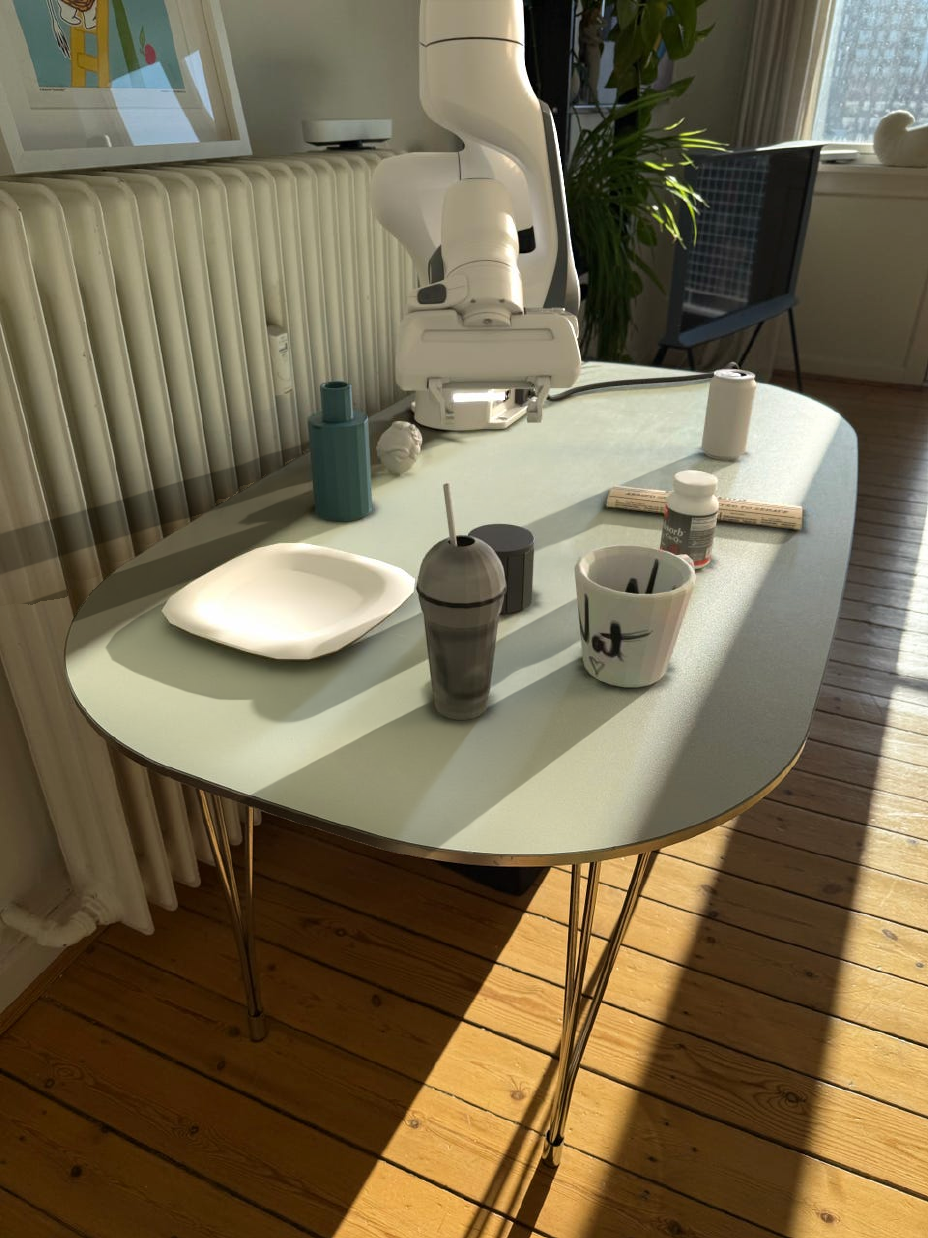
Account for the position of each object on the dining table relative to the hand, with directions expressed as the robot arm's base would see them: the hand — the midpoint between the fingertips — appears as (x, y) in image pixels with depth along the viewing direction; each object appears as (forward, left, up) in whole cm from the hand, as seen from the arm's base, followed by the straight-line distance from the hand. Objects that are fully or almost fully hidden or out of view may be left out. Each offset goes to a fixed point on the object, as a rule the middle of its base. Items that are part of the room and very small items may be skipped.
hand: (491, 421), depth 96 cm
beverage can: (-48, +9, -16) cm, 52 cm away
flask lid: (+9, +7, -15) cm, 19 cm away
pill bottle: (-11, +19, -16) cm, 27 cm away
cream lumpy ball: (-14, -25, -16) cm, 33 cm away
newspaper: (-26, +15, -16) cm, 34 cm away
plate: (+23, -9, -16) cm, 29 cm away
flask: (+1, -22, -15) cm, 27 cm away
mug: (+11, +24, -16) cm, 31 cm away
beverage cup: (+27, +15, -16) cm, 34 cm away
